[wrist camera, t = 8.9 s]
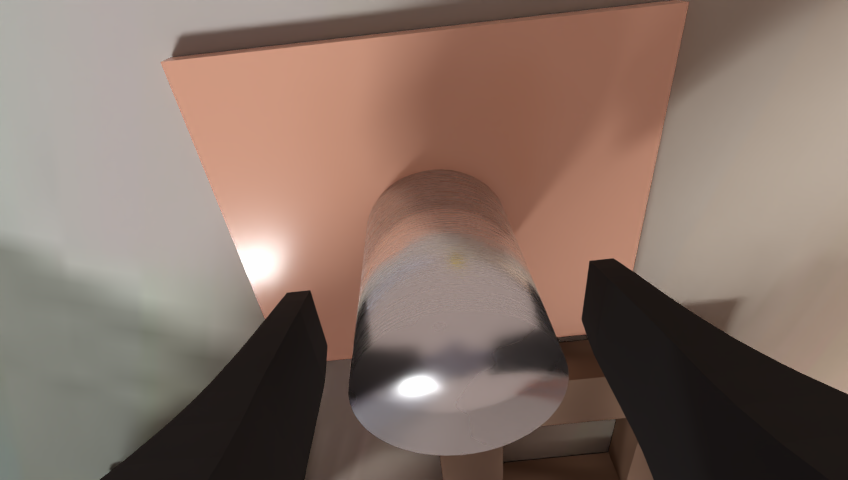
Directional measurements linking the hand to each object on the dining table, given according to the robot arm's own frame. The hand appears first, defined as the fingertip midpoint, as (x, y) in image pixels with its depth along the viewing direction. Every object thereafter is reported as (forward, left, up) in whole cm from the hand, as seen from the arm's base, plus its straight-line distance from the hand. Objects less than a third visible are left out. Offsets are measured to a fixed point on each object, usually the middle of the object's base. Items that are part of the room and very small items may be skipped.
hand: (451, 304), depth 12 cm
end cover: (0, 0, -4) cm, 4 cm away
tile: (0, 0, -5) cm, 5 cm away
